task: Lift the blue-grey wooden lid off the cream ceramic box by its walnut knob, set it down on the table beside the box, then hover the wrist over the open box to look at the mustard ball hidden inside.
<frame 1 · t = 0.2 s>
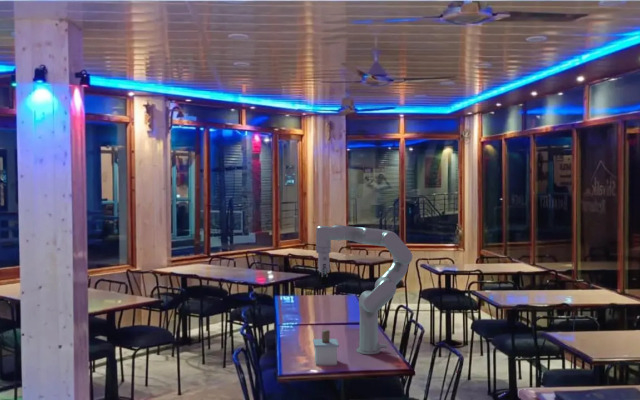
hand: (323, 282, 315), 36 cm above the table, tool pointing down, fingers open, 9 cm apart
storage box: (325, 362, 298), on the table
lid: (325, 344, 298), point 9 cm above the table, touching storage box
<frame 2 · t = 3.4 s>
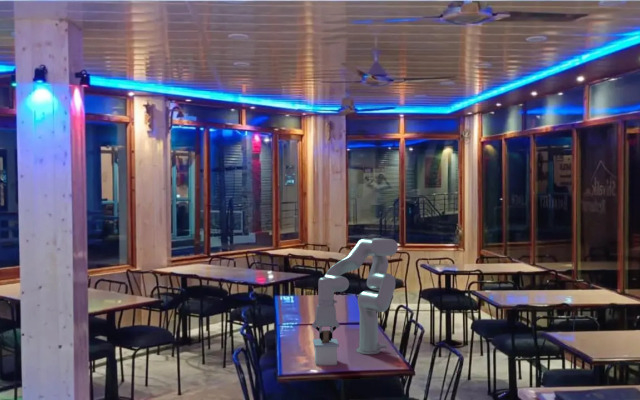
hand: (325, 339, 298), 11 cm above the table, tool pointing down, fingers closed on lid, 3 cm apart
lid: (325, 344, 298), point 9 cm above the table, touching gripper, storage box
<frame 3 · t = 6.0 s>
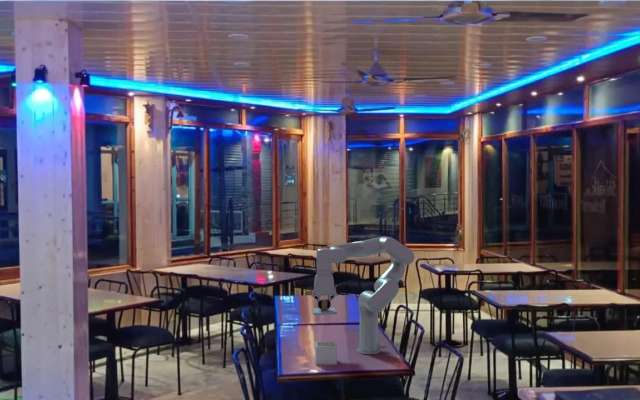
hand: (324, 308, 310), 24 cm above the table, tool pointing down, fingers closed on lid, 3 cm apart
lid: (324, 312, 310), point 22 cm above the table, touching gripper
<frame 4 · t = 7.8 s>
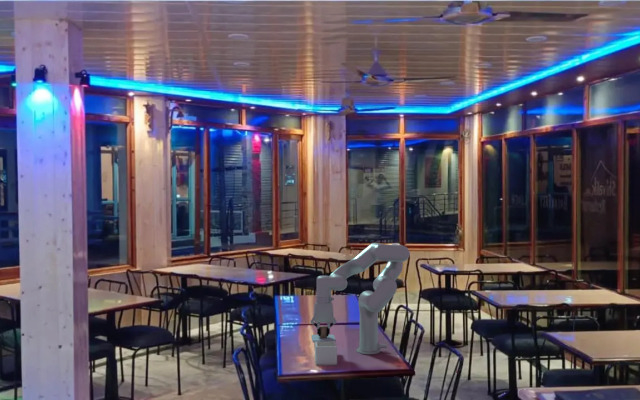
hand: (323, 335, 312), 10 cm above the table, tool pointing down, fingers closed on lid, 3 cm apart
lid: (323, 339, 312), point 8 cm above the table, touching gripper
when the fingers open (5 cm above the table, at t = 9.1 s): lid drops 3 cm, on the table.
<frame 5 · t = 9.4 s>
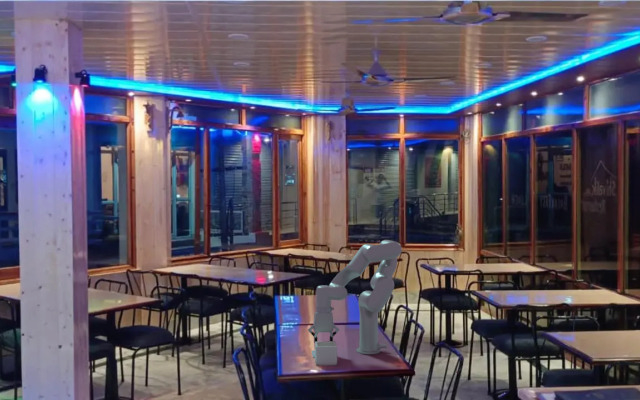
hand: (323, 344, 312), 5 cm above the table, tool pointing down, fingers open, 6 cm apart
lid: (323, 355, 312), on the table
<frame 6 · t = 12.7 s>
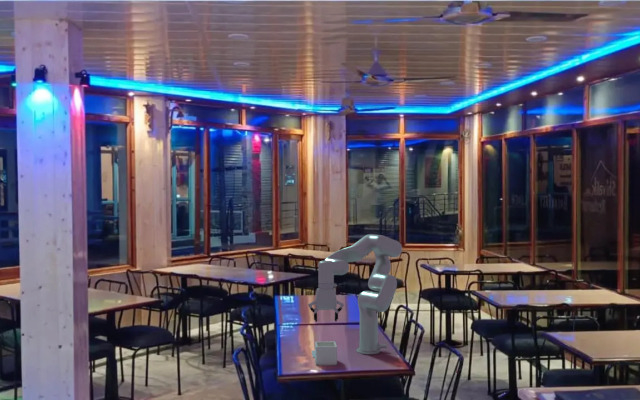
hand: (325, 321, 298), 20 cm above the table, tool pointing down, fingers open, 9 cm apart
nothing on the table moved.
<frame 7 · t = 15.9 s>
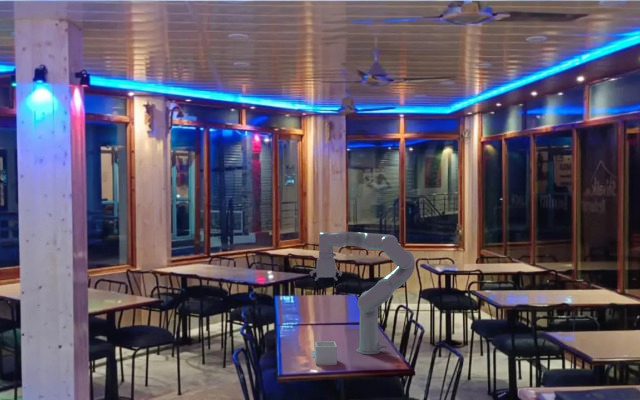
hand: (325, 287, 322), 32 cm above the table, tool pointing down, fingers open, 9 cm apart
nothing on the table moved.
at the end: lid inside the target area (0.1 cm from its centre), on the table; lid tilted 0°; the gripper is holding nothing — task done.
